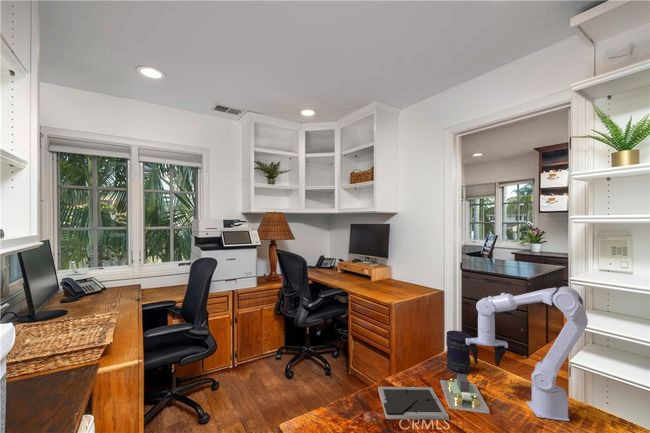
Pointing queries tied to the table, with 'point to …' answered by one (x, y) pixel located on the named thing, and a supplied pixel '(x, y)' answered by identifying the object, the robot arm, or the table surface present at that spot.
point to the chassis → (461, 404)
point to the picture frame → (411, 403)
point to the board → (455, 390)
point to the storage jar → (458, 352)
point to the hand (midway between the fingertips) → (486, 364)
